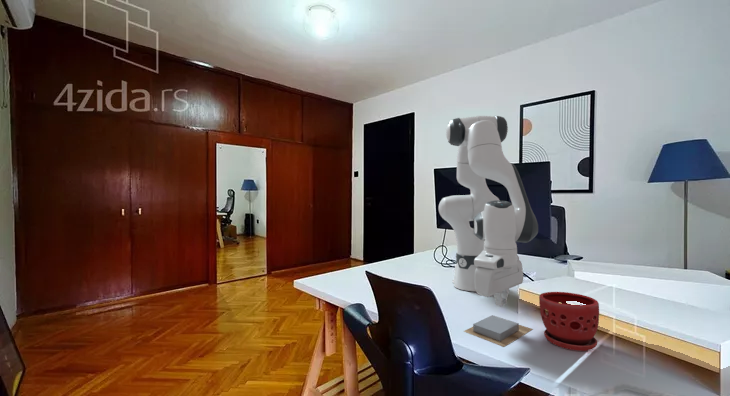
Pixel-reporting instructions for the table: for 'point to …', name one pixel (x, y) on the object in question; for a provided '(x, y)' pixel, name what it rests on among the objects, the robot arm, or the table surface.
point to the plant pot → (570, 320)
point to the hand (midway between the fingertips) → (501, 304)
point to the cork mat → (504, 342)
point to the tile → (496, 327)
